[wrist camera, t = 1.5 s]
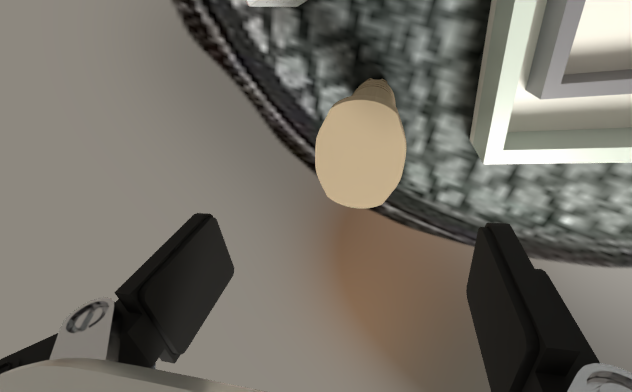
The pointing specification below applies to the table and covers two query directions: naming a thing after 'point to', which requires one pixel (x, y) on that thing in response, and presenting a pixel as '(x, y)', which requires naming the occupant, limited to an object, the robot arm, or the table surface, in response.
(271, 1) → the small box
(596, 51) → the housing
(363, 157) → the handle
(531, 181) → the table surface
